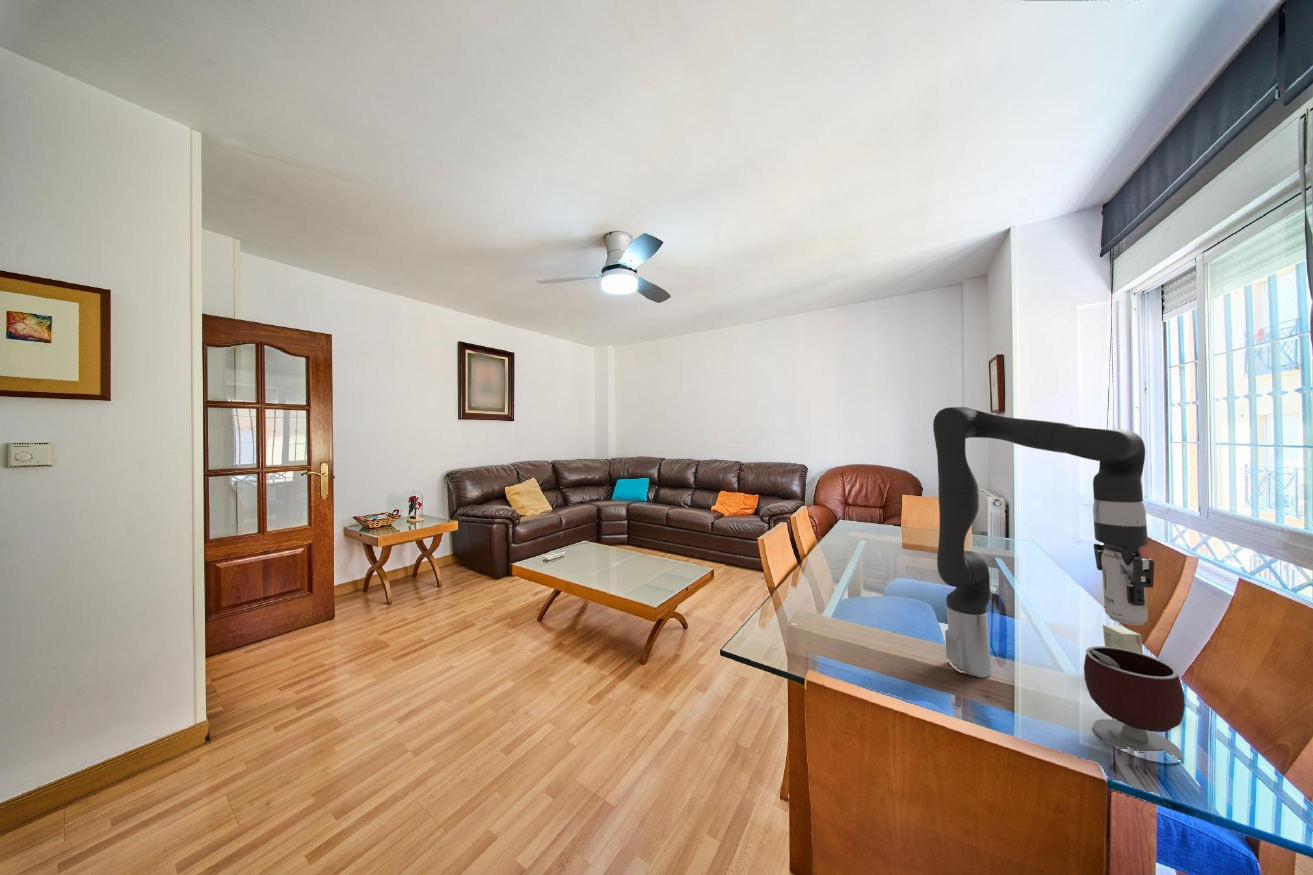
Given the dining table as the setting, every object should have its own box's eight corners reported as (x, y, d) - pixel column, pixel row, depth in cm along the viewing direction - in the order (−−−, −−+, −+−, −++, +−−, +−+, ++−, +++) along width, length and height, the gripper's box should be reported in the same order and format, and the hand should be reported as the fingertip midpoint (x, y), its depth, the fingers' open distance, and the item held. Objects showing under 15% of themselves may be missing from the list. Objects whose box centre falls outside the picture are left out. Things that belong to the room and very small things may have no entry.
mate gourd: (1127, 717, 93) (1120, 630, 93) (1212, 764, 79) (1204, 662, 80) (1063, 722, 92) (1057, 634, 93) (1137, 770, 79) (1129, 667, 79)
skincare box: (1146, 682, 105) (1143, 635, 106) (1126, 681, 106) (1123, 634, 107) (1123, 668, 112) (1120, 624, 112) (1105, 667, 113) (1101, 623, 113)
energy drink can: (1104, 612, 91) (1099, 545, 91) (1146, 619, 86) (1141, 549, 87) (1106, 621, 86) (1101, 551, 87) (1150, 629, 82) (1145, 555, 82)
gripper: (1171, 528, 79) (1177, 614, 78) (1118, 515, 92) (1123, 588, 92) (1119, 527, 81) (1125, 610, 81) (1076, 514, 95) (1080, 586, 94)
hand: (1124, 598), depth 86 cm, fingers closed on energy drink can, 6 cm apart
